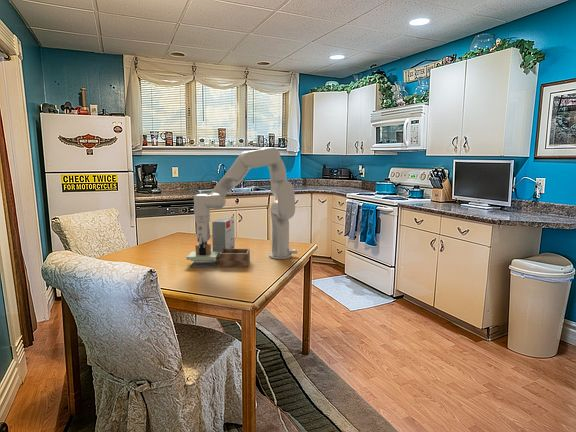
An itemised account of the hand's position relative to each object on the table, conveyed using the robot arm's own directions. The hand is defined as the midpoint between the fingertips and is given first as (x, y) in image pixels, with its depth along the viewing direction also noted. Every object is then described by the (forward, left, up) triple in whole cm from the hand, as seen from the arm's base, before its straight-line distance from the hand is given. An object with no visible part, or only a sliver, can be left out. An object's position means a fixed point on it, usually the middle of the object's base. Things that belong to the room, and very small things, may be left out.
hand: (203, 253), depth 187 cm
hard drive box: (-7, -20, -6) cm, 22 cm away
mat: (0, 0, -6) cm, 6 cm away
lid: (0, 0, -2) cm, 2 cm away
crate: (-16, 0, -6) cm, 17 cm away
